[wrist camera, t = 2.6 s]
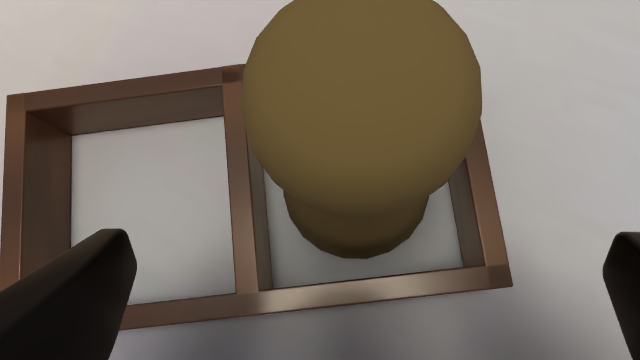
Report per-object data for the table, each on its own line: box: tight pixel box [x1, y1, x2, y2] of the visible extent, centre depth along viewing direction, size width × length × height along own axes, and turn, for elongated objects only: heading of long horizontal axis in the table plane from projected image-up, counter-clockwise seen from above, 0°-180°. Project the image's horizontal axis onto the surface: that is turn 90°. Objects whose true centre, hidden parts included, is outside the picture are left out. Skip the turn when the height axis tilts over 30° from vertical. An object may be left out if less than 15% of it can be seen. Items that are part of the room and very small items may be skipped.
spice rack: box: [0, 64, 513, 331], centre depth 18 cm, size 9×18×3 cm, turn 96°
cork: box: [241, 0, 482, 259], centre depth 14 cm, size 6×6×11 cm
